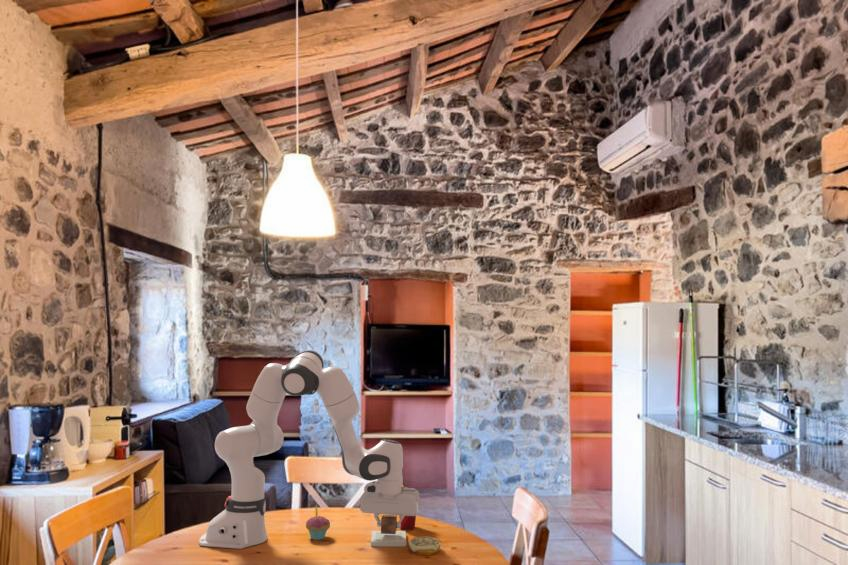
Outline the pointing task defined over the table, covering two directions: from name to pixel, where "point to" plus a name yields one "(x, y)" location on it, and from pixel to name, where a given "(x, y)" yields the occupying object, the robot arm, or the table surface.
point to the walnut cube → (388, 524)
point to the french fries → (408, 522)
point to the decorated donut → (424, 545)
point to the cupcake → (317, 526)
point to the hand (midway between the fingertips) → (388, 527)
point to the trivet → (388, 539)
